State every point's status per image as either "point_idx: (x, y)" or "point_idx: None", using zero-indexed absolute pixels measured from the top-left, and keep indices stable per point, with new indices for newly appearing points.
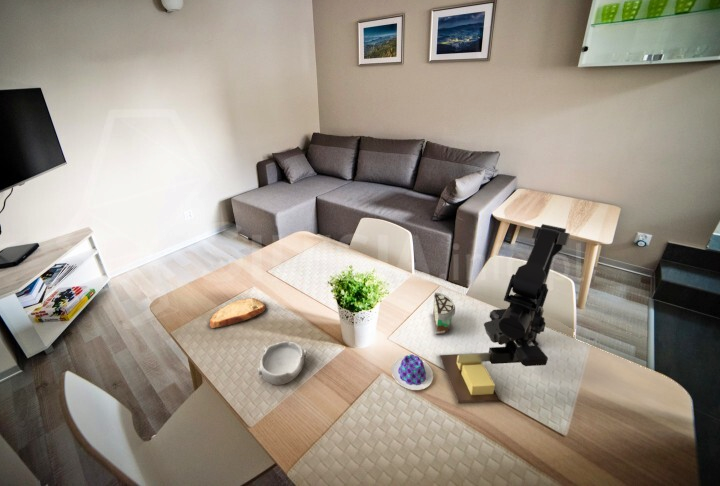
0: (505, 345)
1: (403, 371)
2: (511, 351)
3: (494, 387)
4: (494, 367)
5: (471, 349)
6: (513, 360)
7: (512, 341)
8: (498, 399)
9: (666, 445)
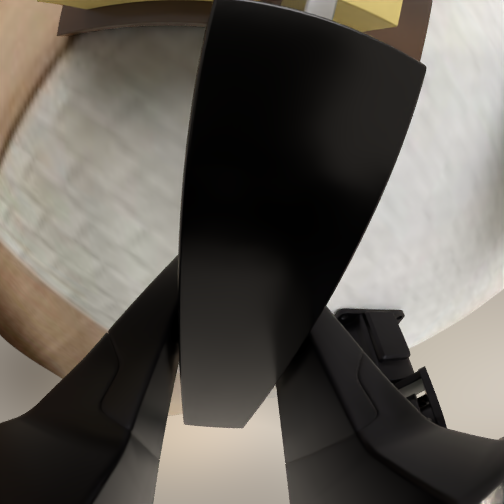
0: (333, 326)
1: None
2: (206, 344)
3: (50, 2)
4: None
5: (436, 105)
6: (170, 269)
7: (305, 428)
8: (60, 31)
9: (38, 356)
